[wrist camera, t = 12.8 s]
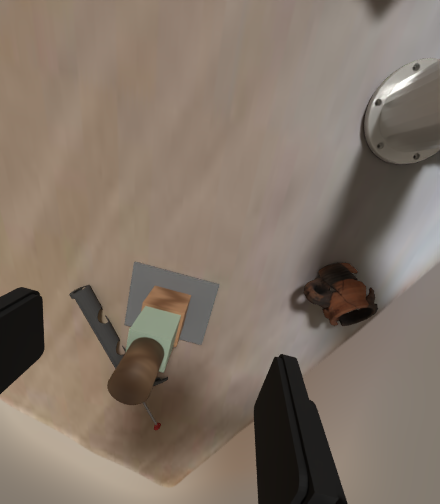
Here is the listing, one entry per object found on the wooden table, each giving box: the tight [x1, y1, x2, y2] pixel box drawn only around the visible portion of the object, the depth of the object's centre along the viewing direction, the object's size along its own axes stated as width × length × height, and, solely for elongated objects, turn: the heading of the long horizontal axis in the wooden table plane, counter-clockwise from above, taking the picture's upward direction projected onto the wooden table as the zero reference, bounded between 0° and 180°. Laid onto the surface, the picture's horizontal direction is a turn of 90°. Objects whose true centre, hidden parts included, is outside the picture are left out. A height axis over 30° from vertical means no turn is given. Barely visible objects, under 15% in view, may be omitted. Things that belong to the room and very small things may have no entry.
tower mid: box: [125, 306, 181, 373], centre depth 35 cm, size 6×6×6 cm
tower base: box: [141, 286, 191, 347], centre depth 41 cm, size 7×7×6 cm
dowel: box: [107, 337, 164, 405], centre depth 29 cm, size 5×5×6 cm
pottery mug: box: [304, 263, 378, 326], centre depth 39 cm, size 12×10×8 cm
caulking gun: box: [69, 285, 168, 430], centre depth 48 cm, size 4×37×10 cm
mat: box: [125, 262, 219, 345], centre depth 44 cm, size 16×14×1 cm
